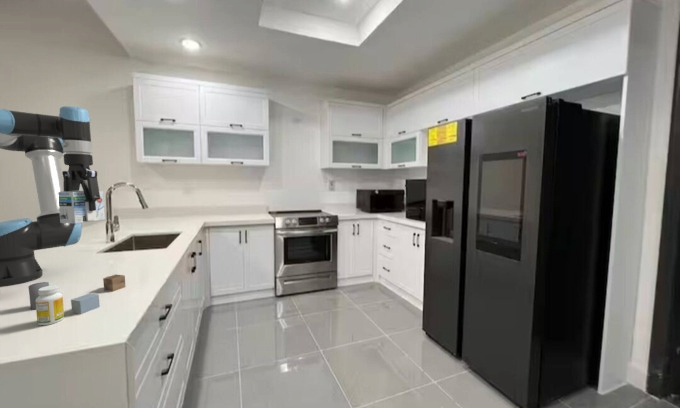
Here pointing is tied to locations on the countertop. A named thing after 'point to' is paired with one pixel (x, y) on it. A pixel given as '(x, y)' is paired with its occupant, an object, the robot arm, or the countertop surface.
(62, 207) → the light bulb box
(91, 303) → the slate-blue block
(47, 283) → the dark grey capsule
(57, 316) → the supplement bottle
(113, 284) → the walnut block
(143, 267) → the countertop surface
